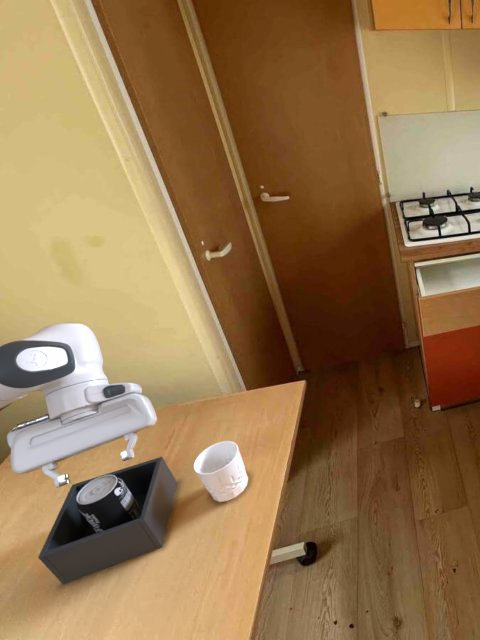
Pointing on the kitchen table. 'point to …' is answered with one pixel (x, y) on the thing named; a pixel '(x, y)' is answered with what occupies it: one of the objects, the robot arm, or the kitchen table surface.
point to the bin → (118, 542)
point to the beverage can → (107, 503)
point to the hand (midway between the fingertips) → (96, 472)
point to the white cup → (222, 470)
